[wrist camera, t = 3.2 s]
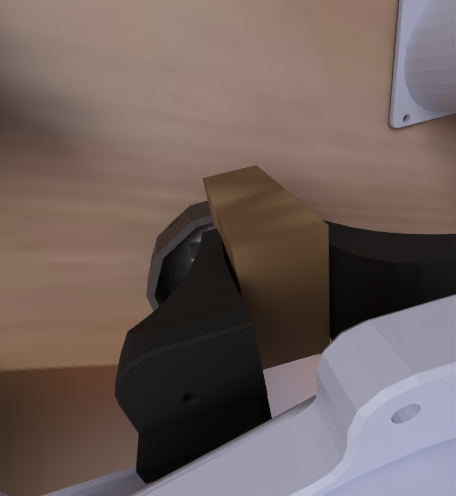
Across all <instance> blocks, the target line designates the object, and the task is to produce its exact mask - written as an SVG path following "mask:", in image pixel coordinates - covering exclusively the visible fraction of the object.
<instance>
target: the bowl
mask: <svg viewBox="0 0 456 496" xmlns="http://www.w3.org/2000/svg"><path fill="white" fill-rule="evenodd" d="M211 229H215V228H214V224H213V220H212V216H211V211H210V207H209V203H208V201H205V202H202V203H198V204H195V205H191V206H189V207H188V208H187V209H186V210H185V211H184V212H183V213H182V214H181V215H180V216H178V217H177V218H176V219H175V220H174V221H172V223H171V224H170V225H169V226H168V227H167V228H166V229H165V230H164V231H163V232H162V233H161V234H160V235H159V236H158V237H157V240H156V245H155V249H154V252H153V255H152V260H151V266H150V270H149V275H148V285H147V298H148V300H149V302H150V304H151V307H152V309H153V311H155V310H156V309H157V308H158V307H159V306H160V305H162V304H163V302H164V301H165V300H166V299H167V298H168V297H169V296H170V295H171V294H172V293H173V292H174V290H175V289H176V288H177V287H178V286H179V284H180V283H181V282H182V280H183V278H184V277H185V275H186V274H187V272H188V270H189V268H190V266H191V264H192V262H193V260H194V258H195V255H196V253H197V250H198V247H199V244H200V240H201V234H202V233H203V231H207V230H211Z"/></svg>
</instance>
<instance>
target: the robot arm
mask: <svg viewBox="0 0 456 496" xmlns="http://www.w3.org/2000/svg"><path fill="white" fill-rule="evenodd" d="M454 113H456V0H399V10H398V22H397V35H396V47H395V59H394V71H393V83H392V95H391V107H390V120H389V123H390V126H391V127H393V128H401V127H404V126H408V125H412V124H416V123H420V122H424V121H427V120H431V119H435V118H439V117H443V116H446V115H450V114H454ZM405 115H406V119H405V120H404V121H403V118H404V116H405ZM323 221H324V222H325V223H326V224H328V227H329V318H330V338H331V340H332V342H331V343H330V344H329V345H328V346H327V347H326V348H325V349H324V351H323V353H322V356H321V359H320V362H319V366H318V369H317V372H316V376H317V394H316V395H315V396H313V397H311V398H309V399H308V400H306V401H304V402H302V403H300V404H298V405H296V406H294V407H293V408H291V409H289V410H287V411H285V412H283V413H282V414H280V415H278V416H276V417H274V418H272V417H271V412H270V407H269V402H268V397H267V390H266V385H265V379H264V374H263V369H262V364H261V359H260V355H259V350H258V345H257V340H256V335H255V330H254V325H253V322H252V319H251V316H250V313H249V311H248V308H247V306H246V304H245V303H244V301H243V299H242V297H241V295H240V294H239V292H238V290H237V288H236V285H235V283H234V281H233V279H232V277H231V274H230V272H229V269H228V265H227V261H226V256H225V252H224V248H223V243H222V239H221V236H220V233H219V231H218V229H217V228H215V229H211V230H207V231H203V233H202V234H201V240H200V244H199V247H198V250H197V253H196V255H195V258H194V260H193V262H192V264H191V266H190V268H189V270H188V272H187V274H186V275H185V277H184V278H183V280H182V282H181V283H180V284H179V286H178V287H177V288H176V289H175V290H174V292H173V293H172V294H171V295H170V296H169V297H168V298H167V299H166V300H165V301H164V302H163V304H162V305H160V306H159V307H158V308H157V309H156V310H155V311H154V312H153V313H152V314H150V315H149V316H148V317H147V318H145V319H144V320H143V321H141V322H140V323H139V324H137V325H136V326H135V327H133V328H132V329H131V330H129V331H128V332H127V335H126V339H125V342H124V345H123V348H122V351H121V355H120V359H119V365H118V371H117V376H116V383H115V397H116V399H117V401H118V403H119V406H120V407H121V409H122V410H123V412H124V413H125V414H126V416H127V417H128V419H129V420H130V422H131V423H132V425H133V426H134V428H135V429H136V431H137V432H138V433H139V438H138V451H137V463H136V466H134V467H131V468H128V469H125V470H122V471H119V472H115V473H112V474H109V475H105V476H102V477H99V478H96V479H93V480H89V481H86V482H83V483H80V484H76V485H73V486H70V487H67V488H63V489H60V490H57V491H54V492H51V493H47V494H44V495H41V496H456V234H400V233H388V232H378V231H371V230H365V229H359V228H353V227H348V226H344V225H340V224H336V223H332V222H329V221H325V220H323ZM0 496H8V495H6V494H5V493H3V492H0Z"/></svg>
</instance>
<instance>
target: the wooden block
mask: <svg viewBox="0 0 456 496" xmlns="http://www.w3.org/2000/svg"><path fill="white" fill-rule="evenodd" d="M203 182H204V186H205V190H206V194H207V199H208V203H209V207H210V211H211V216H212V220H213V224H214V228H217V229H218V231H219V233H220V236H221V239H222V243H223V248H224V252H225V256H226V261H227V265H228V269H229V272H230V274H231V277H232V279H233V281H234V283H235V285H236V288H237V290H238V292H239V294H240V295H241V297H242V299H243V301H244V303H245V304H246V306H247V308H248V311H249V313H250V316H251V319H252V322H253V325H254V330H255V335H256V340H257V345H258V350H259V355H260V359H261V364H262V369H263V370H264V369H267V368H271V367H274V366H278V365H281V364H284V363H288V362H291V361H295V360H298V359H301V358H305V357H308V356H312V355H315V354H319V353H322V352H323V351H324V349H325V348H326V347H327V346H328V345H329V344H330V318H329V227H328V224H326V223H325V222H324V221H323V220H322V219H320V218H319V217H318V216H317V215H316V214H314V213H313V212H312V211H311V210H310V209H308V208H307V207H306V206H305V205H303V204H302V203H301V202H300V201H299V200H297V199H296V198H295V197H294V196H293V195H291V194H290V193H289V192H288V191H287V190H285V189H284V188H283V187H282V186H280V185H279V184H278V183H277V182H276V181H274V180H273V179H272V178H271V177H270V176H268V175H267V174H266V173H265V172H263V171H262V170H261V169H260V168H259V167H257V166H252V167H248V168H243V169H239V170H235V171H231V172H227V173H223V174H219V175H214V176H210V177H206V178H203Z"/></svg>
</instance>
